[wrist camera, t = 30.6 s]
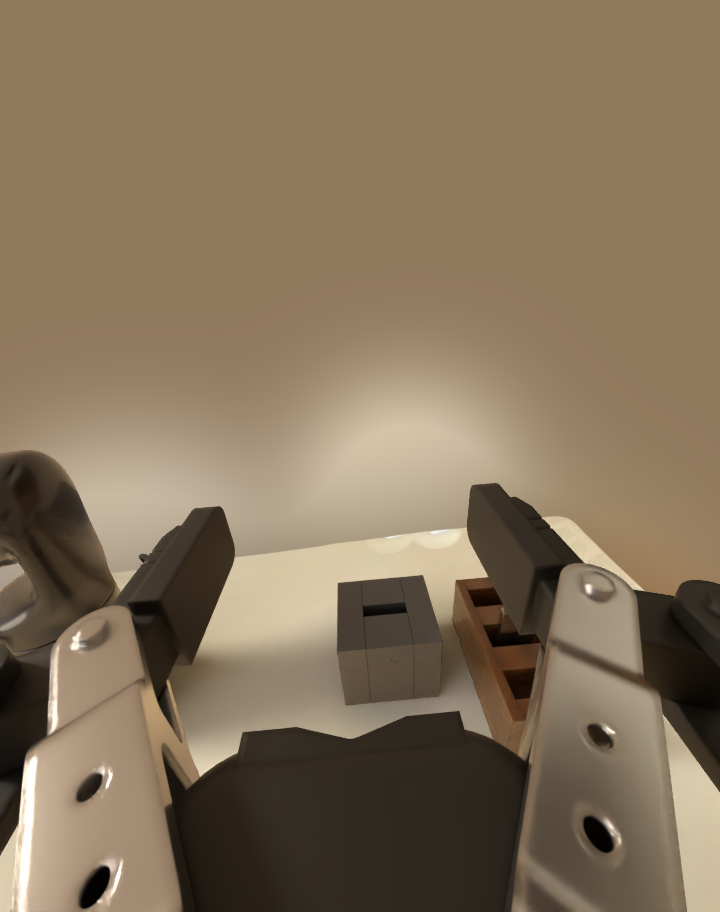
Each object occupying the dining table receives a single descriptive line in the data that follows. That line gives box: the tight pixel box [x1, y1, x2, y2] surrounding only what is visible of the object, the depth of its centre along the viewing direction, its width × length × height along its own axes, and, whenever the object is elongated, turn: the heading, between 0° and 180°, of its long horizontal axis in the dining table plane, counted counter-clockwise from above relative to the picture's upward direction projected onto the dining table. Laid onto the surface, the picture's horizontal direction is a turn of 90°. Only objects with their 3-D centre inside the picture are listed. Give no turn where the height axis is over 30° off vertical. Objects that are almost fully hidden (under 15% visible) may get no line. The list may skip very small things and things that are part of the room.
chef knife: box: [494, 607, 535, 647], centre depth 34 cm, size 4×2×21 cm, turn 93°
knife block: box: [337, 575, 443, 705], centre depth 39 cm, size 11×9×10 cm
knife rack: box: [452, 577, 541, 755], centre depth 37 cm, size 8×16×8 cm, turn 3°
